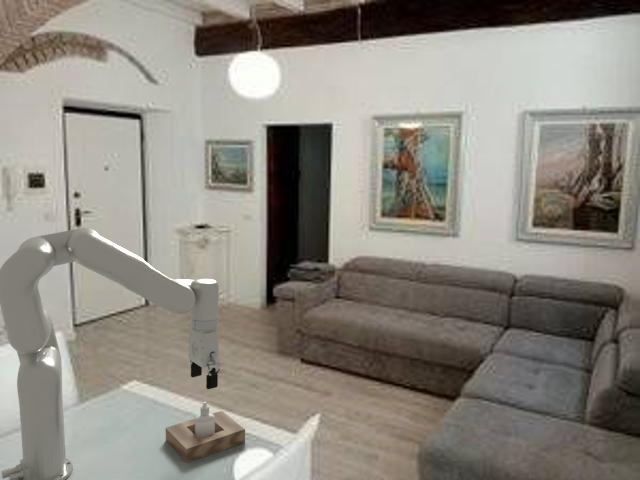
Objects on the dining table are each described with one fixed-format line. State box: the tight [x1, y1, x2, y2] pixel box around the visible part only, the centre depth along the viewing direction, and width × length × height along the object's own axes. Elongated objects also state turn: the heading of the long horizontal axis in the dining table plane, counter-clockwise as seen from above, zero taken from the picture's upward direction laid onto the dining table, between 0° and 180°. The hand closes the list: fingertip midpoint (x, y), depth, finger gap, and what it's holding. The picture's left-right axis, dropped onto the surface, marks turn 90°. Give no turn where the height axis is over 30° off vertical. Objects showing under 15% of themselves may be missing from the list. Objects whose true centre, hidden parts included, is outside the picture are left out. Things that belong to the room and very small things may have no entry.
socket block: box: [165, 410, 246, 464], centre depth 151 cm, size 18×14×4 cm
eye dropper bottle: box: [194, 401, 215, 438], centre depth 151 cm, size 4×6×12 cm
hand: (203, 381), depth 149 cm, fingers open, 9 cm apart
